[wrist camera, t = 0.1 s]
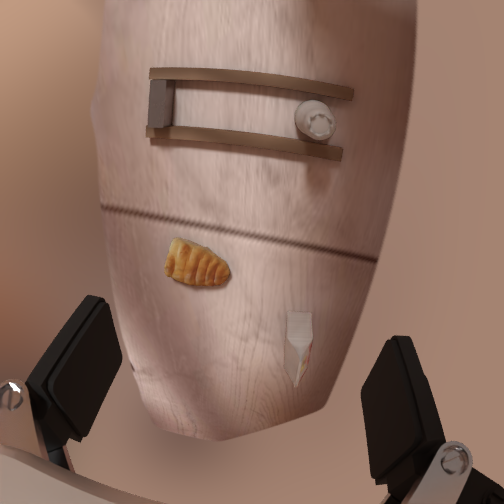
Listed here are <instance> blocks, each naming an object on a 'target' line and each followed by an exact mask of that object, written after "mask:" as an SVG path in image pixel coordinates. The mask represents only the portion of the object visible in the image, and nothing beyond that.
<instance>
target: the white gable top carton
mask: <svg viewBox="0 0 504 504" xmlns="http://www.w3.org/2000/svg"><path fill="white" fill-rule="evenodd" d="M312 341H313V333H312V319H311V312H293V311H288V313H287V323H286V334H285V349H284V369H285V370H286V372H287V373H288V375H289V377H290V378H291V380H292V382H293V384H294V388H295V387H296V385H297V387H298V384H299V382H300V379H301V378H302V376H303V375H304V373H305V371H306V370H307V367H308V362H309V357H310V352H311V346H312Z"/></svg>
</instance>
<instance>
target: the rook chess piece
mask: <svg viewBox="0 0 504 504" xmlns="http://www.w3.org/2000/svg"><path fill="white" fill-rule="evenodd" d="M295 123H296V126H297V127H298V128H299V130H300V131H301V132H302V133H304V134H306V135H308V136H309V137H311V138H313V139H315V140H324V139H327V138H329V137H330V136H331V135H333V133H334V131H335V129H336V121H335V117H334V116H333V115H332V113H331V111H330V109H329V108H328V107H327V106H326V104H324V103H322V102H320V101H317V100H309V101H305V102H303V103H302V104H301V105H299V106H298V108H297V110H296V112H295Z"/></svg>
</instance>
